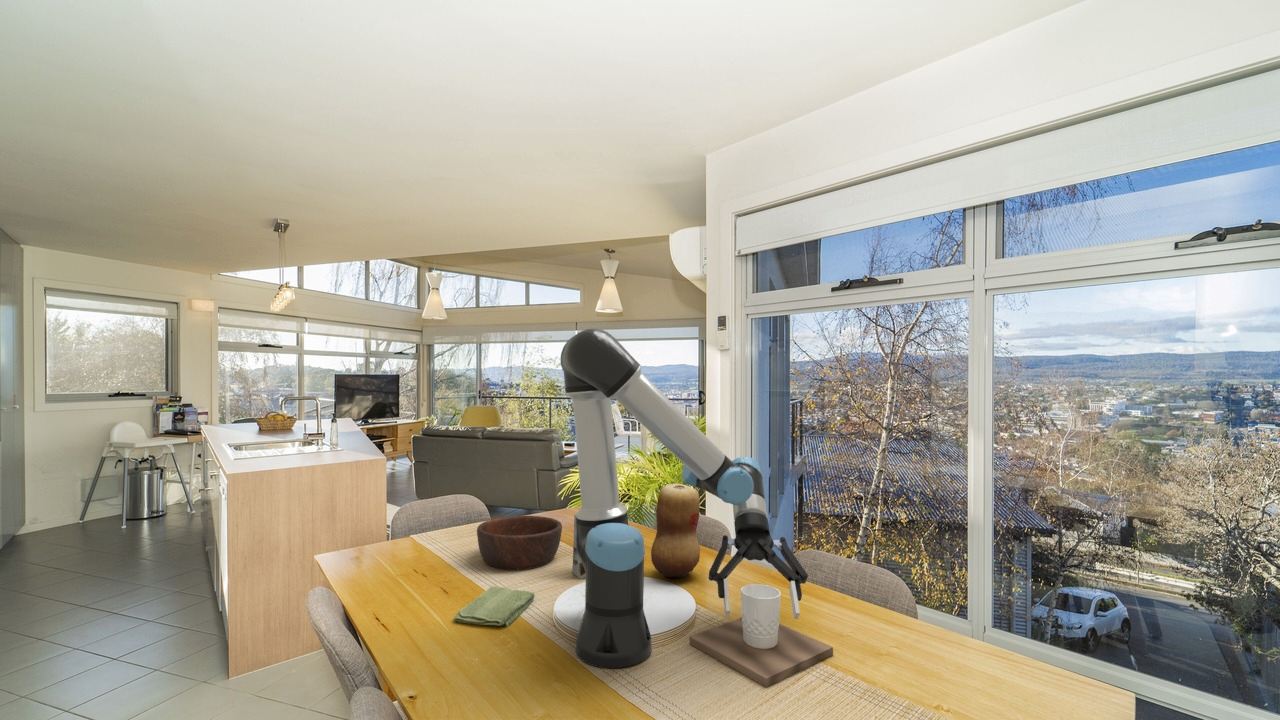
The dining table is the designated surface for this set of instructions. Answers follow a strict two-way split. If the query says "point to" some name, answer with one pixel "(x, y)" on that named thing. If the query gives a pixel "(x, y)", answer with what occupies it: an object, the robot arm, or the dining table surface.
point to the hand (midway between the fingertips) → (762, 615)
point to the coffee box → (577, 557)
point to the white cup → (760, 615)
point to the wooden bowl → (519, 541)
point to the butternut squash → (676, 531)
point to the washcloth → (495, 607)
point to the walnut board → (761, 652)
